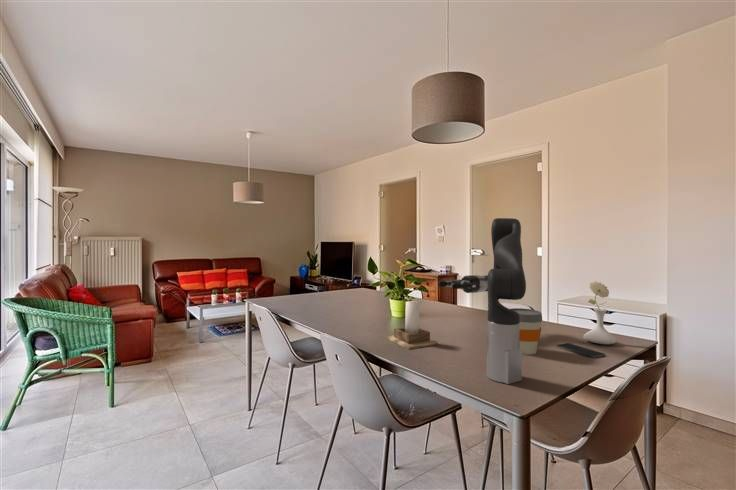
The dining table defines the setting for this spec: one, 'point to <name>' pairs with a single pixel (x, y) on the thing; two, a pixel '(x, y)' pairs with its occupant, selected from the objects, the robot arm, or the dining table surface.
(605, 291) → the flower in vase
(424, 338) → the open wooden box
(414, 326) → the paper towel roll
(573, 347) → the phone
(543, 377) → the dining table surface
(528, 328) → the reusable coffee cup
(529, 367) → the dining table surface
